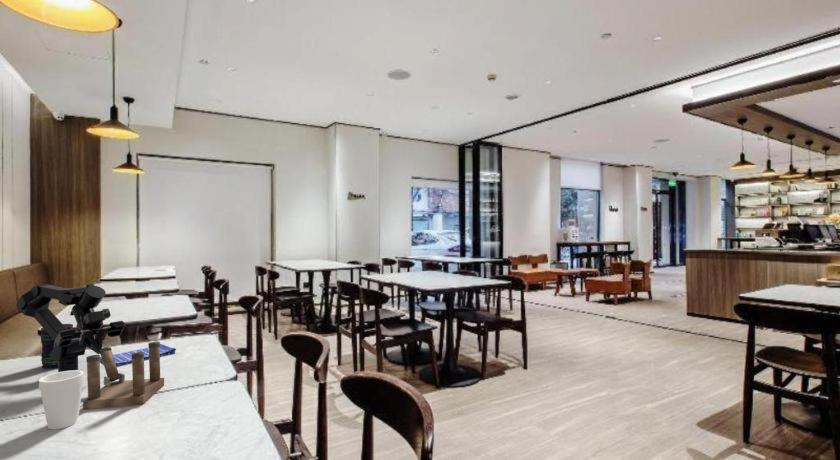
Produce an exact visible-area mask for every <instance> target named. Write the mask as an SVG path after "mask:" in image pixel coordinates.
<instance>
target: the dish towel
mask: <svg viewBox="0 0 840 460" xmlns="http://www.w3.org/2000/svg"><path fill="white" fill-rule="evenodd" d="M176 350H177V349H176V348H175V347H170V346H168V345H166V344H162V343H160V358H162V357H167V356H171V355H175V354H176ZM136 352H144V362H145V361H149V347H148V346H147V347H144V348H140V349H133V350H131V351H130V350H129V351H126V352H120V353H115V354H113V357H114V360H115V364H116V367H117V368H118V367H122V366H126V365H130V364H131V365H132V354H133V353H136ZM100 363H102V364H103V361H102V357H101V356H100Z"/></svg>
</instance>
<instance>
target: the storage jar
mask: <svg viewBox="0 0 840 460" xmlns="http://www.w3.org/2000/svg"><path fill="white" fill-rule="evenodd" d="M62 324H63V325H64V326H65V327H66V328H67V329H68V330H70V329H74V324H73V323H62ZM54 342H55V341H54V339H53V338H52V337H51V336H50V335H49V334H48V333H47V332H46V330H45V329H44V328H43V327H40V344H41V354H40V357H41V359H40V361H41V369H42V368H44V369H43V370H56V369H58V361H54V360H51V358H50V353H51V352H52V350H53V349H54ZM55 368H56V369H55Z"/></svg>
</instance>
